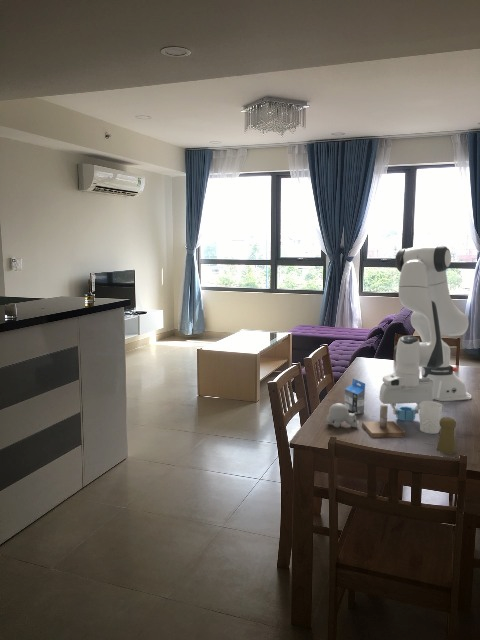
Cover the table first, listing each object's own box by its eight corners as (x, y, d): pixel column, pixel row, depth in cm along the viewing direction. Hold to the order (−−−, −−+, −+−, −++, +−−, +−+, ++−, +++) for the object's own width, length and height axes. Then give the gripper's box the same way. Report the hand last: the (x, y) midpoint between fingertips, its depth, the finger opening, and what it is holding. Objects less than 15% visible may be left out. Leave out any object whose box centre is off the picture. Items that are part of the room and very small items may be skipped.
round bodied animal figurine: (352, 437, 196) (362, 417, 194) (322, 422, 199) (332, 402, 196) (355, 430, 203) (364, 411, 200) (326, 416, 205) (334, 397, 203)
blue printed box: (343, 408, 222) (344, 379, 220) (351, 407, 223) (352, 378, 222) (356, 414, 214) (357, 384, 212) (364, 413, 215) (365, 383, 213)
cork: (439, 445, 181) (441, 414, 180) (457, 449, 178) (460, 417, 176) (434, 451, 177) (436, 419, 175) (453, 455, 173) (455, 422, 172)
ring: (410, 414, 210) (410, 405, 210) (417, 420, 204) (417, 411, 203) (394, 415, 210) (394, 406, 209) (400, 421, 203) (400, 411, 203)
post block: (393, 425, 201) (394, 400, 200) (405, 436, 190) (406, 410, 188) (362, 425, 201) (362, 401, 199) (371, 437, 189) (372, 411, 187)
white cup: (414, 427, 199) (416, 401, 198) (435, 426, 200) (436, 400, 198) (423, 434, 191) (425, 407, 190) (444, 434, 192) (446, 407, 191)
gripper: (430, 376, 208) (428, 410, 210) (378, 377, 207) (377, 411, 209) (437, 380, 202) (435, 415, 204) (384, 381, 200) (382, 417, 203)
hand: (405, 413), depth 206 cm, fingers closed on ring, 7 cm apart
